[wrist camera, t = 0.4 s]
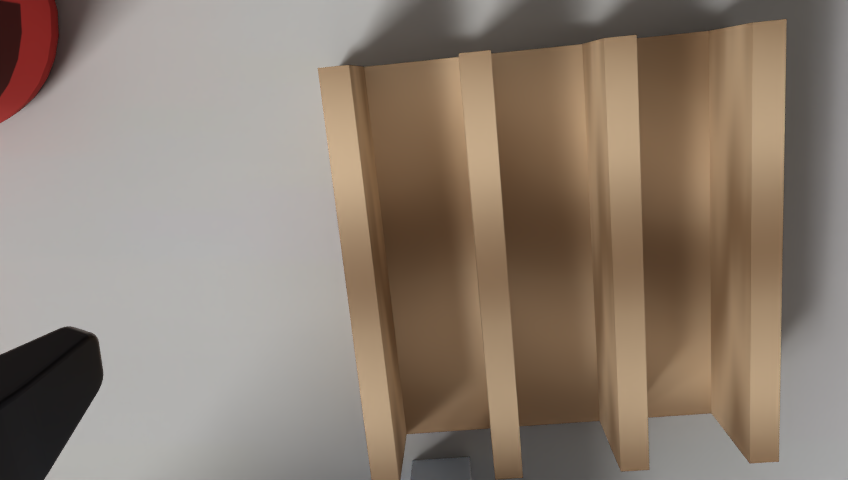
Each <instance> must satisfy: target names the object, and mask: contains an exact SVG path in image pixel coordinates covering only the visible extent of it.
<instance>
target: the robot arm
mask: <svg viewBox="0 0 848 480" xmlns="http://www.w3.org/2000/svg"><path fill="white" fill-rule="evenodd" d="M102 380H103V367H102V360H101V354H100V347H99V341H98V338H97V337H96V336H95V334H93V333H91V332H87V331H84V330H81V329H78V328H75V327H70V326H69V327H63V328H60V329H57V330H55V331H53V332H51V333H48V334H46V335H44V336H42V337H39V338H37V339H35V340H33V341H30V342H28V343H26V344H24V345H21V346H19V347H17V348H15V349H12V350H10V351H8V352H6V353H3V354H1V355H0V480H44V479H45V477H46V476H47V474H48V473H49V471H50V469H51V468H52V466H53V465H54V463H55V461H56V460H57V458H58V456H59V455H60V453H61V451H62V450H63V448H64V447H65V445H66V443H67V442H68V440H69V438H70V437H71V435H72V433H73V432H74V430H75V429H76V427H77V425H78V424H79V422H80V420H81V419H82V417H83V415H84V414H85V412H86V410H87V409H88V407H89V406H90V404H91V402H92V401H93V399H94V397H95V396H96V394H97V392H98V391H99V389H100V386H101V384H102Z"/></svg>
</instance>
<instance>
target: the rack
mask: <svg viewBox="0 0 848 480" xmlns="http://www.w3.org/2000/svg"><path fill="white" fill-rule="evenodd" d="M786 22H787V19H782V20H773V21H763V22H754V23H748V24H743V25H737V26H732V27H727V28H721V29H716V30H711V31H703V32H693V33H683V34H674V35H664V36H655V37H645V38H637V35H630V36H620V37H611V38H603V39H599V40H595V41H592V42H588V43H584V44H578V45H569V46H559V47H549V48H540V49H530V50H521V51H511V52H502V53H492V54H491V50H487V51H477V52H468V53H459V56H458V57H454V58H444V59H435V60H425V61H416V62H406V63H396V64H387V65H377V66H368V67H361V66H353V65H344V66H334V67H325V68H318V73H319V81H320V88H321V96H322V104H323V111H324V119H325V127H326V134H327V142H328V150H329V157H330V165H331V173H332V180H333V188H334V196H335V203H336V211H337V219H338V226H339V234H340V242H341V249H342V257H343V265H344V272H345V280H346V288H347V295H348V303H349V311H350V318H351V326H352V334H353V341H354V349H355V357H356V364H357V372H358V380H359V387H360V395H361V403H362V410H363V418H364V426H365V433H366V441H367V449H368V456H369V464H370V472H371V479H372V480H400V479H401V472H402V464H403V457H404V450H405V443H406V435H407V434H415V433H430V432H444V431H459V430H474V429H488V428H490V431H491V441H492V451H493V461H494V471H495V480H496V479H511V478H523V472H522V458H521V445H520V432H519V426H532V425H547V424H561V423H576V422H591V421H600V423H601V425H602V428H603V430H604V432H605V435H606V437H607V439H608V442H609V444H610V447H611V449H612V451H613V454H614V456H615V458H616V461H617V463H618V466H619V468H620V470H621V472H622V471H637V470H649V441H648V418H649V417H664V416H678V415H693V414H707V413H712V415H713V416H714V417H715V419H716V420H717V421H718V422H719V424H720V425H721V426H722V428H723V429H724V430H725V432H726V433H727V434H728V436H729V437H730V438H731V439H732V441H733V442H734V443H735V445H736V446H737V447H738V449H739V450H740V451H741V453H742V454H743V455H744V456H745V458H746V459H747V460H748V462H749V463H763V462H779V422H780V365H781V308H782V251H783V194H784V136H785V79H786Z"/></svg>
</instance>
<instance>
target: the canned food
mask: <svg viewBox="0 0 848 480" xmlns="http://www.w3.org/2000/svg"><path fill="white" fill-rule="evenodd" d="M58 37H59V33H58V12H57V7H56V3H55V0H0V123H1V122H3V121H5V120H7V119H8V118H10V117H11V116H13V115H14V114H16V113H17V112H19V111H20V110H21V109H22V108H23V107H24V106H25V105H27V104H28V103H29V102H30V101H31V100H32V99H33V98H34V97H35V96H36V95H37V93H38V92H39V90H40V89H41V87H42V86H43V84H44V83H45V81H46V80H47V78H48V75H49V73H50V70H51V68H52V65H53V62H54V60H55V55H56V49H57V43H58Z"/></svg>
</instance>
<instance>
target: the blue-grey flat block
mask: <svg viewBox="0 0 848 480" xmlns="http://www.w3.org/2000/svg"><path fill="white" fill-rule="evenodd" d="M411 480H472V478H471V467H470V457H460V458H444V459H429V460H414V461H413V464H412V473H411Z"/></svg>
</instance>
